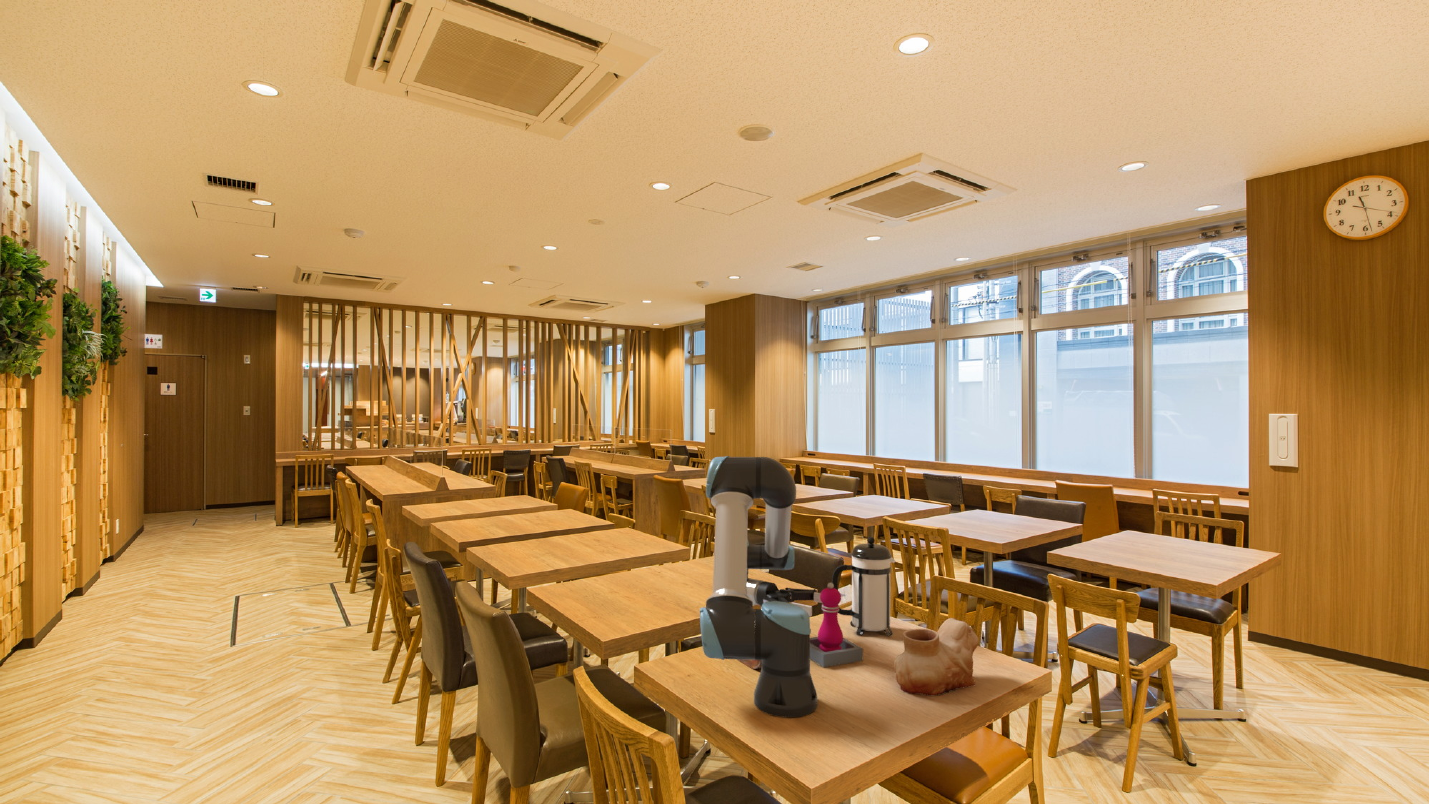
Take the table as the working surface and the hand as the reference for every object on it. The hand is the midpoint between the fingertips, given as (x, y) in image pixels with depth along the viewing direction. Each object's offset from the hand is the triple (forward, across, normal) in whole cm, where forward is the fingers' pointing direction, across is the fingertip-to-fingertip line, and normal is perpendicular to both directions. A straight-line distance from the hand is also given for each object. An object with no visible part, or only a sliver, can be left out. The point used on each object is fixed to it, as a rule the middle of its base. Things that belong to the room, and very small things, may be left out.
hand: (823, 606), depth 191 cm
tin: (-13, +20, -14) cm, 27 cm away
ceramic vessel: (+33, 0, -14) cm, 36 cm away
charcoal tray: (+3, +1, -14) cm, 14 cm away
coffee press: (+2, -26, -14) cm, 30 cm away
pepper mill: (+3, +1, -13) cm, 13 cm away
